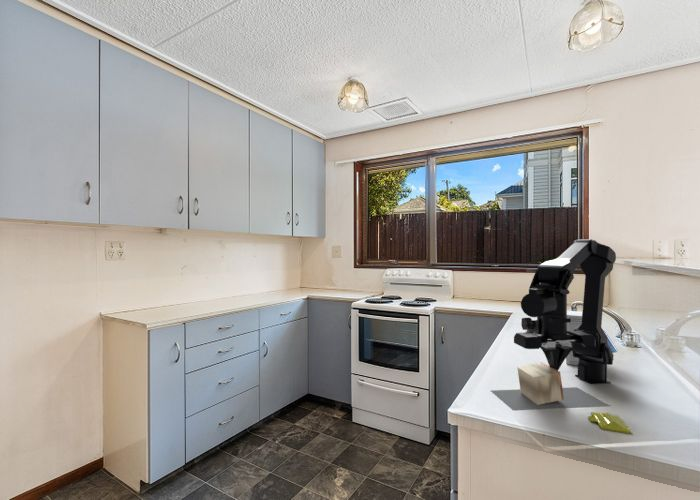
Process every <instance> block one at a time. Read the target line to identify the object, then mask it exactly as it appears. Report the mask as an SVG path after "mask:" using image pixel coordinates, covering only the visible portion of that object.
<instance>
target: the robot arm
mask: <svg viewBox="0 0 700 500" xmlns="http://www.w3.org/2000/svg"><path fill="white" fill-rule="evenodd" d="M616 254H617V253H616V252H615V250H614V249H612V248H611V246H608V245H605V244H602V243H599V242H597V240H595V239H591V238H587V239H585V238H584V239H576V240H573V242H572V244H571V245H570V246H569V247H568V248H567V249H566V250H564V252H562V253H561V254H560V255H558V257H557V258H555V259H551V260H546V261H544V262H543V263H539V265H538V267H537V268H536V270H535V272H534V275H533V277H532V280H531V283H530V285H529V289H528V293H527V294H525V295H524V296H523V297H522V298H521V301H520V307H521V310H522V312H523V313H524V315H525V314H526V316H528V317H522V318H521V323H520V324H521V328H522V330H524V331H528V332H515V334H514V336H513V343H514V344H515V345H518V346H519V347H521V348H523V349H525V350H539V349H541V351H542V352H543V354H544V356H545V358H546V361H547V363H548V366H550V367H551V368H553V369H555V370H557V371H559V370H560V368H561V367H562V364H563V363H564V361H566V357H567V356H568V355H569V353H570V352H571V351H572V352H573V357H575V358H579V364H578V365H577V374H574V377H576V378H578V379H580V380H582V381H584V382H586V383H588V384H590V385H601V384H604V385H605V384H612V381H609V380H607V378H608V375H607V374H608V373H607V372H608V368H607V367H608V366H611V365H613V362H614V353H613V351H612V350H611V347H610V346H609V344H608V336H607V335H606V333H605V331H604V329H603V327H602V324H603V323H602V322H603V309H604V298H605V297H604V295H605V285H606V283H605V282H606V278H607V276H608V275H609V274H611V272H612V271H613V270H614V265H615V263H616V260H617V255H616ZM578 267H580V269H581V270H582V273H583V274H584V277H585V279H584V290H583V301H582V302H583V303H582V311H581V312H582V323H581V325H580V326H579V327H578V329H575V330H574V331H567V323H568V322H571V318H567V311H568V308H567V307H568V303H567V302H568V299H567V298H568V295H569V294H570V293H571V292H570V290H569V287H570V285H571V283H572V282H573V280H574V279H575V276H574V272H575V270H576V269H577V268H578ZM532 318H536V320H535V319H534V320H532ZM570 343H571V346H572V347H570Z"/></svg>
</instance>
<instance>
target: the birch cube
mask: <svg viewBox="0 0 700 500" xmlns="http://www.w3.org/2000/svg"><path fill="white" fill-rule="evenodd" d="M517 376H518V381H519V382H518V383H519V389H520V390H521V393H522V394H523V395H525V396H526V397H527V398H529V399H530V400H532V401H533V402H534V403H536V404H537V405H540V404H545V403H550V402H555V401H560V400H564V396H563V389H562V388H563V382H562V376H561V372H560V371H559V370H558V371H557V370H555V369H553V368H551V367H550V366H549V364H548V365H547V364H546V363H544V362H538V363H533V364H526V365H520V366H517Z"/></svg>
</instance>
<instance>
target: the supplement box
mask: <svg viewBox="0 0 700 500" xmlns="http://www.w3.org/2000/svg"><path fill="white" fill-rule="evenodd" d="M582 312H583V311H576V310H575V311H574V310H567V318H571V322H568V323H567V331H574V330H575V329H578V327H579V326H580V325H581V323H582ZM570 347H572V346H571V343H570ZM565 362H566V365H572V366H578V364H579V358H575V357H573V352H572V351H571V352H570V353H569V355H568V356H567V357H566V359H565Z"/></svg>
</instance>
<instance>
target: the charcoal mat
mask: <svg viewBox="0 0 700 500" xmlns="http://www.w3.org/2000/svg"><path fill="white" fill-rule="evenodd" d="M562 389H563V396H564V400H560V401H555V402H550V403H545V404H540V405H537V404H536V403H534V402H533V401H532V400H530V399H529V398H527V397H526V396H525V395H523V394H522V393H521V390H520V388H519V389H498V390H497V389H495V390H490V392H491V393H492V394H493V395H495V397H497V398H498V399H499V400H500V401H502V403H504V404H505V405H507V407H509V408H510V409H511V410H512V411H526V410H527V411H529V410H531V411H532V410H549V409H550V410H551V409H573V408H574V409H575V408H578V409H579V408H596V407H597V408H599V407H611V405H609V404H608V403H606V402H604V401H603V400H601V399H598V398H597V397H595V396H593V395H591V394H590V393H588V392H586V391H585V390H582V389H580V388H579V387H577V386H575V387H574V386H573V387H571V386H570V387H562Z"/></svg>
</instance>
